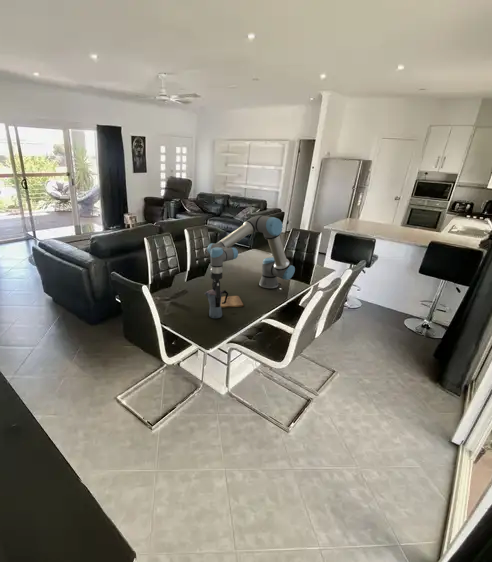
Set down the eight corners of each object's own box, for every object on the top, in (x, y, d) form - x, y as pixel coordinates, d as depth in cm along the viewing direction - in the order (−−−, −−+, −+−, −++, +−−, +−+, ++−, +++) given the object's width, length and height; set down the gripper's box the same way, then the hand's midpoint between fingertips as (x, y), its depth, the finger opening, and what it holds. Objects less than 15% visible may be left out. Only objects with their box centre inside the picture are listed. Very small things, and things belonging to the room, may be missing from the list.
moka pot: (204, 312, 218) (203, 285, 210) (226, 311, 219) (227, 284, 211) (205, 319, 209) (205, 291, 201) (228, 318, 210) (229, 290, 202)
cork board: (238, 297, 241) (238, 295, 240) (243, 306, 226) (243, 304, 225) (214, 298, 239) (214, 296, 238) (218, 307, 224) (218, 306, 224)
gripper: (208, 266, 213) (208, 295, 221) (213, 279, 190) (213, 311, 198) (219, 265, 214) (218, 294, 222) (225, 278, 191) (225, 310, 199)
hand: (216, 302), depth 210 cm, fingers open, 13 cm apart
